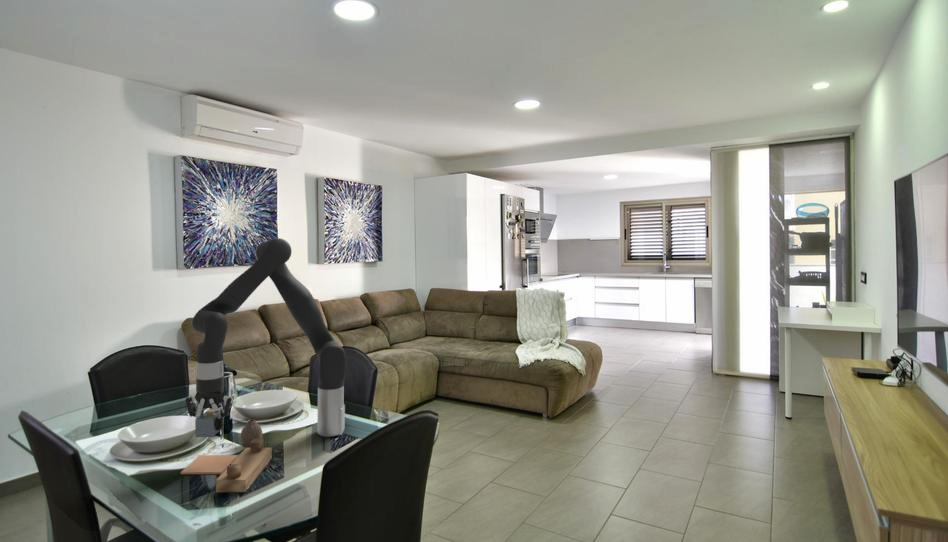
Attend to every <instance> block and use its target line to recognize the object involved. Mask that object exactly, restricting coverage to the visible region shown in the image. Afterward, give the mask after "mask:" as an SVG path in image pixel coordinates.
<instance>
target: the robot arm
mask: <svg viewBox="0 0 948 542" xmlns="http://www.w3.org/2000/svg"><path fill="white" fill-rule="evenodd" d="M255 249H256V250H255V256H256V259H257V260H256V261H255V262H254V263H253V264H252V265H251V266H250V267H249V268H247V269H246V270H244V272H242V273H241V274H240V275H239V276H237V277H236V278H235V279H234V280H232V282H231V283H229V284H228V285H227V287H225V289H223V291H221V292H220V294H219V295H218V296H217V297H216V298H214V299H212V300H210V301H209V302H208V303H207V304H206V305H204V306H202V307H201V308H200V309H199V310H198V311H196V313H195V314H194V316H193V319H192V322H191V324H192V328H193V329H194V330H195V331H196V332H198V333H200V334H204V339H203V341H201V342H200V343H198V344H197V348H196V368H195V388H196V389H195V391H196V393H195V394H194V395H189V396H187V397H186V398H185V403H186V408H187V412H188V415H189V417H190V418H192V417H194V418H195V419H196V418H198V417H199V416H201V415H202V414H203V413H205V412H206V410H207V409H213V410H214V412H215V413H216V416H217V418H218V419H217V430H220V431H222V430H223V429H222V427H223V426H224V427H225V418H226V417H228V416H229V415H230V414H231V412H232V408H233V407H232V406H233V403H234V399H235V396H234V395H231V396H228V395H226V394H225V392H224V383H225V382H224V381H225V380H224V379H225V378H224V369H225V368H224V359H223V356H224V355H223V354H224V353H223V352H224V351H223V350H224V348H223V346H224V344H225V340H226V337H227V332H228V326H229V325H228V320H227V317H226V316H227V315H228V314H233V313H235V312H237V310H239V309H240V307H241V306H242V305H243V304H244V303H245V302H246V301H247V300H248V299H249V297H250V296H251V295H252V294H253V293H254V292H255V291H256V290H257V288H258V287H259V286H260V285H261V284H263V282H264V281H265V280H266V279H267V278H268V277H269V279H270V280H271V282H272V283H273V284H274V286H275V288H276V289H277V291H278V294H279V295H280V296H281V298H282V300H283V301H284V303H285V305H286V307H287V309H288V311H289V312H290V315H291V316H292V318H293V319H294V321H295V322H296V323H297V325H298V326H299V327H300V329H301V330H302V331H303V333H304V334H305V335H306V337H307V338H308V340H309V342H310V344H311V346H312V349H313V352H314V354H315V356H316V359H317V361H318V362H319V375H318V376H319V377H318V379H317V435H319V436H321V437H328V438H329V437H335V436H342V435H343V433H344V431H345V428H346V424H345V423H346V415H345V414H346V404H345V403H344V399H345V397H344V396H345V395H344V394H345V388H344V387H345V379H346V369H347V366H346V365H347V356H346V355H347V354H346V351H345V350H344V348H343V347H342V346H341V345H340V344H339V343H338V342H337V341H336V339H335V338H334V337H333V336H332V334H331V333H330V331H329V330H328V328H327V326H326V323H325V321H324V318H323V315H322V312H321V309H320V308H319V305H318V303H317V301H316V299H315V298H314V297H313V295H312V293H311V291H310V290H309V289H308V288H307V287H306V286H305V285H304V284H303V283H302V282H300V280H299V279H297V278H296V276H294V274H293V273H292V272H291V271H290V269H289V268H288V266H287V264H286V262H288V261H289V260H290V258H291V257H292V247H291V244H290V243H289V242H288V241H287V240H286V239H283V238H279V237H278V238H277V237H275V238H271V239H269V240H267V241H264V242H261V243H260V244H258V246H257V247H256V248H255ZM223 401H224V404H225V405H224V407H223V404H222V402H223ZM196 402H197V403H198V407H196V406H197V405H196ZM223 408H224V409H223ZM223 410H224V411H223Z"/></svg>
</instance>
